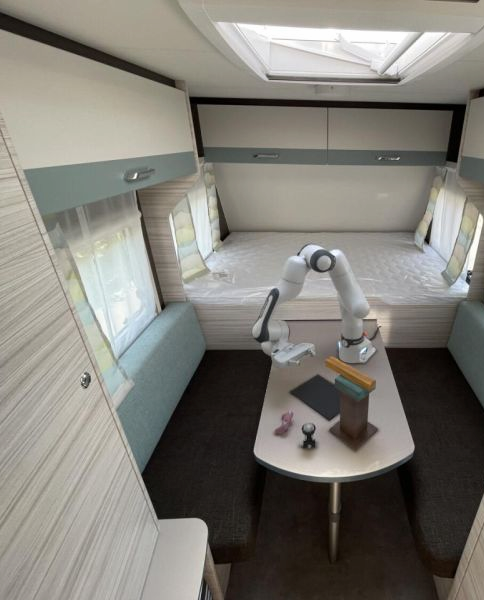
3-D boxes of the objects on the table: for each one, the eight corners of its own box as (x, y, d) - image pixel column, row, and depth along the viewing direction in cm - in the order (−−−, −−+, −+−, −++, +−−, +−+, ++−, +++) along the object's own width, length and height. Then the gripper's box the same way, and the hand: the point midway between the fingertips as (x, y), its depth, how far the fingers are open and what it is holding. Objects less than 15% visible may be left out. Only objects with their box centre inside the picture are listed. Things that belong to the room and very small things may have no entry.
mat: (317, 375, 167) (317, 374, 167) (356, 399, 150) (356, 398, 150) (290, 392, 155) (290, 391, 155) (329, 420, 139) (329, 419, 138)
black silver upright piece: (298, 451, 124) (297, 432, 120) (299, 440, 129) (298, 421, 125) (316, 450, 125) (315, 431, 120) (316, 439, 129) (315, 420, 125)
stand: (351, 413, 143) (353, 363, 132) (377, 430, 134) (381, 379, 123) (329, 431, 133) (329, 379, 123) (355, 450, 125) (357, 397, 114)
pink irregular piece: (283, 438, 132) (289, 428, 128) (273, 433, 132) (279, 422, 128) (290, 420, 140) (297, 410, 137) (281, 415, 140) (287, 405, 137)
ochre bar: (331, 362, 133) (331, 356, 132) (374, 386, 119) (375, 380, 118) (325, 366, 131) (325, 359, 129) (369, 391, 117) (369, 384, 116)
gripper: (304, 349, 159) (324, 355, 150) (270, 367, 145) (290, 376, 136) (302, 337, 157) (322, 343, 148) (267, 355, 144) (287, 362, 134)
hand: (306, 359), depth 142 cm, fingers open, 8 cm apart
